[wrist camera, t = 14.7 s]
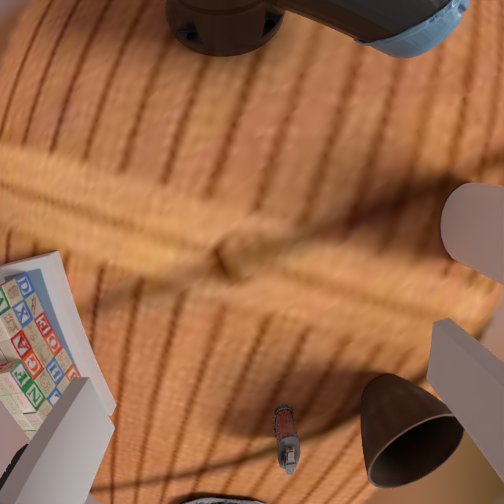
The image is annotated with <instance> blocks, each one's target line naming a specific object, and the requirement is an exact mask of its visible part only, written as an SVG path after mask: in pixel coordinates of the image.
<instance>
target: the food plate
mask: <svg viewBox="0 0 504 504" xmlns="http://www.w3.org/2000/svg"><path fill="white" fill-rule="evenodd" d="M181 504H264V503H261V502H258V501H245V500H235V499H220V498H197V499H194V500H191V501H187V502H183V503H181Z"/></svg>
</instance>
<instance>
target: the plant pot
mask: <svg viewBox="0 0 504 504" xmlns="http://www.w3.org/2000/svg"><path fill="white" fill-rule="evenodd" d="M464 432H465V429H464V427H463V426H462V425H461V424H460V422H459V421H458V420H457V418H456V417H455V416H454V414H453V413H452V412H451V410H450V409H449V408H448V407H447V405H445V404H444V403H443V402H442V401H440V400H439V399H438V398H436V397H435V396H433V395H432V394H431V393H429V392H427V391H426V390H424V389H423V388H421V387H419V386H418V385H416V384H414V383H412V382H410V381H408V380H406V379H404V378H401V377H399V376H396V375H393V374H386V375H382V376H379V377H377V378H375V379H374V380H373V381H371V382H370V383H369V384H368V385H367V386H366V388H365V389H364V391H363V394H362V402H361V437H362V447H363V454H364V460H365V466H366V471H367V476H368V480H369V481H370V482H371V484H373V485H374V486H377V487H380V488H396V487H401V486H405V485H408V484H411V483H413V482H416V481H418V480H420V479H422V478H423V477H425V476H427V475H429V474H430V473H432V472H433V471H435V470H436V469H437V468H439V467H440V466H441V465H442V464H443V463H445V462H446V461H447V460H448V459H449V458H450V457H451V455H452V454H453V453H454V451H456V449H457V448H458V446H459V445H460V443H461V441H462V439H463V436H464Z"/></svg>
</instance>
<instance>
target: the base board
mask: <svg viewBox="0 0 504 504" xmlns="http://www.w3.org/2000/svg"><path fill="white" fill-rule="evenodd" d="M25 272H27V274H28V277H29V279H30V281H31V283H32V286H33V288H34V291H35V293H36V295H37V297H38V299H39V301H40V303H41V306H42V308H43V310H44V313H45V315H46V317H47V319H48V321H49V323H50V325H51V327H52V329H53V330H54V332H55V334H56V336H57V337H58V339H59V341H60V343H61V345H62V347H64V349H65V351H66V352H67V354H68V356H69V358H70V359H71V361H72V363H73V365H74V366H75V368H76V370H77V371H78V373H79V375H80V376H81V377H90V379H91V382H92V384H93V386H94V388H95V390H96V392H97V394H98V396H99V398H100V400H101V402H102V404H103V406H104V408H105V410H106V412H107V414H108V416H112V413H113V411H114V409H115V407H116V403H115V401H114V398H113V396H112V394H111V392H110V390H109V388H108V386H107V384H106V381H105V379H104V377H103V375H102V373H101V370H100V368H99V366H98V363H97V361H96V359H95V356H94V354H93V351H92V349H91V346H90V344H89V341H88V339H87V336H86V334H85V331H84V328H83V326H82V323H81V320H80V317H79V315H78V312H77V309H76V306H75V303H74V300H73V297H72V294H71V291H70V288H69V284H68V281H67V278H66V274H65V271H64V268H63V264H62V260H61V257H60V253H59V250H58V251H54V252H50V253H46V254H42V255H38V256H34V257H30V258H26V259H22V260H18V261H14V262H10V263H6V264H4V265H2V266H0V285H1V284H3V283H5V282H7V281H9V280H11V279H13V278H15V277H17V276H19V275H21V274H23V273H25Z"/></svg>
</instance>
